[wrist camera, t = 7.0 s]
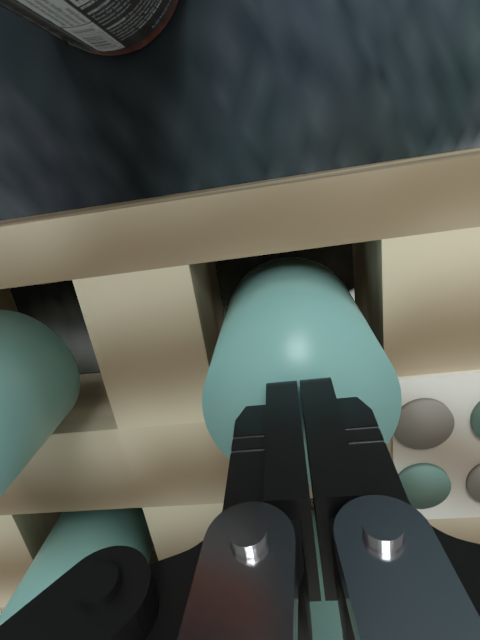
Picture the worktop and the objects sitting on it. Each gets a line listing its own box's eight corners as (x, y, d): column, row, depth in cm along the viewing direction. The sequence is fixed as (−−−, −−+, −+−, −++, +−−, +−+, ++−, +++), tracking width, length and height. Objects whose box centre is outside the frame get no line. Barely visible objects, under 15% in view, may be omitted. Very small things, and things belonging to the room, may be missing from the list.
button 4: (217, 266, 15) (185, 329, 9) (350, 248, 14) (401, 305, 9) (237, 379, 16) (219, 490, 11) (356, 368, 16) (402, 479, 10)
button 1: (51, 491, 19) (-38, 622, 14) (145, 485, 19) (92, 620, 13) (79, 561, 21) (10, 703, 16) (166, 557, 21) (127, 704, 15)
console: (-74, 232, 18) (-205, 258, 13) (481, 146, 15) (582, 139, 10) (59, 547, 25) (7, 642, 20) (457, 530, 22) (510, 635, 17)
